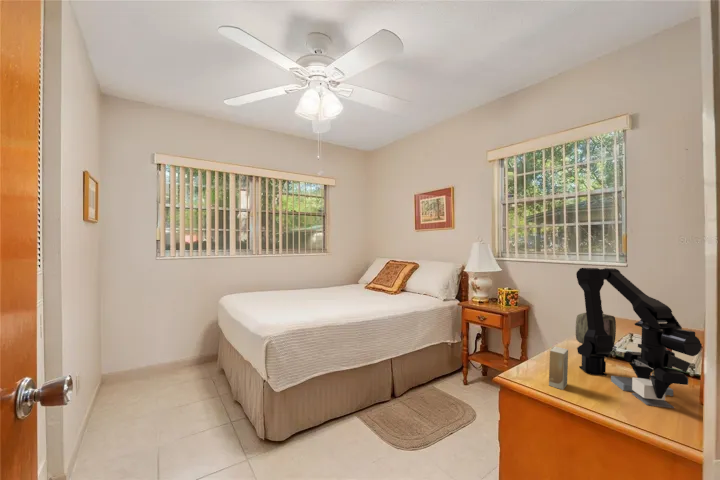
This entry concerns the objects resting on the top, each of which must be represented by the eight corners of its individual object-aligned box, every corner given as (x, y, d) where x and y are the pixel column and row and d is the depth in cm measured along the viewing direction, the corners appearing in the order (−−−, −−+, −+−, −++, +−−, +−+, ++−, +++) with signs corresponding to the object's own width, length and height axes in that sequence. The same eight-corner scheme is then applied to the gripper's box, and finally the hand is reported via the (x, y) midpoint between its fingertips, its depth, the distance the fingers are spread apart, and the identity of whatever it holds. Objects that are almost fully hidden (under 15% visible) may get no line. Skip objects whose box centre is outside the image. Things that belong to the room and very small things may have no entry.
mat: (646, 405, 93) (647, 403, 93) (631, 394, 100) (631, 392, 100) (674, 408, 92) (674, 407, 92) (656, 396, 99) (657, 395, 99)
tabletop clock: (595, 358, 131) (597, 300, 131) (573, 351, 139) (575, 296, 139) (615, 354, 137) (616, 298, 137) (592, 347, 145) (594, 294, 145)
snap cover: (644, 398, 94) (644, 385, 94) (632, 389, 100) (632, 377, 100) (665, 400, 93) (665, 387, 93) (651, 391, 99) (652, 379, 99)
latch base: (623, 390, 103) (623, 384, 103) (610, 381, 109) (611, 375, 109) (673, 396, 100) (673, 389, 100) (657, 386, 107) (657, 379, 107)
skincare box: (553, 380, 109) (554, 345, 109) (567, 384, 106) (568, 349, 106) (548, 385, 104) (549, 349, 104) (563, 390, 101) (564, 353, 101)
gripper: (712, 357, 85) (710, 413, 85) (661, 337, 104) (660, 383, 104) (664, 353, 88) (663, 408, 88) (623, 334, 106) (622, 379, 106)
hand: (652, 393), depth 96 cm, fingers closed on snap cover, 5 cm apart
